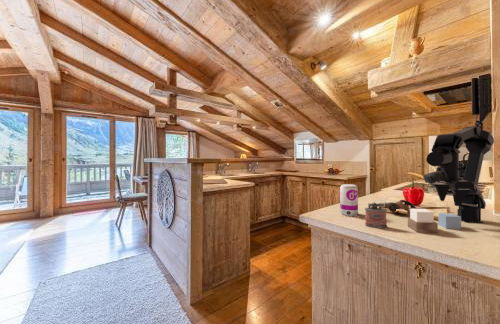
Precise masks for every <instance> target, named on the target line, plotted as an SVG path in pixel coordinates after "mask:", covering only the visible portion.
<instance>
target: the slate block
mask: <svg viewBox="0 0 500 324" xmlns="http://www.w3.org/2000/svg"><path fill="white" fill-rule="evenodd" d="M437 223H438V226H440V227H442V228H444V229H446V230H447V229H448V230H451V229H452V230H462V220H461V217H460V216H458V215H457V214H454V213H448V212H447V213H446V212H445V213H443V212H441V213H440V212H438V222H437Z"/></svg>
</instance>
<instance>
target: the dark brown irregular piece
mask: <svg viewBox="0 0 500 324" xmlns="http://www.w3.org/2000/svg"><path fill="white" fill-rule="evenodd" d="M387 209H388V211H390V213H391V214H396V212H395V211H396V209H400V210H401V209H402V210H404V211H406V212H407V213H406V215H405V216H406V218H410V209H417V208H416V206H415V204H413V203H412V202H410V201H408V200H405V199H400V200H399V201H396V202H389V203H387Z"/></svg>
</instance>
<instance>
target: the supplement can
mask: <svg viewBox="0 0 500 324" xmlns="http://www.w3.org/2000/svg"><path fill="white" fill-rule="evenodd" d="M358 195H359V188H358V186H357V185H356V184H354V183H353V184H351V183H347V184H345V183H343V184H341V186H340V187H339V202H340V203H339V205H340V207H339V208H340V209H339V210H340V211H339V212H340V214H341V216H342V215H343V216H346V217H356V216H358V214H359V196H358Z"/></svg>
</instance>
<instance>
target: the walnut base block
mask: <svg viewBox="0 0 500 324" xmlns="http://www.w3.org/2000/svg"><path fill="white" fill-rule="evenodd" d="M438 226H439V222H435V221H434V223H426V222H416V221H414V220H412V219H411V218H410V217H407V227H408V228H409V229H411V230H413V232H415V233H419V234H420V233H423V234H438V231H439V229H438Z"/></svg>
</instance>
